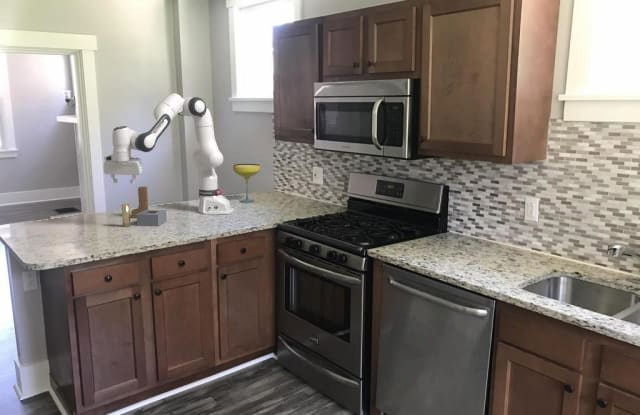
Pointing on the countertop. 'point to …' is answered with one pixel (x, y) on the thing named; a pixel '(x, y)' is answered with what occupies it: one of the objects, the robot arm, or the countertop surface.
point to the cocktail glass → (246, 175)
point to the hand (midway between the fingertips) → (123, 182)
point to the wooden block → (141, 201)
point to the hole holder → (151, 218)
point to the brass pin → (126, 215)
